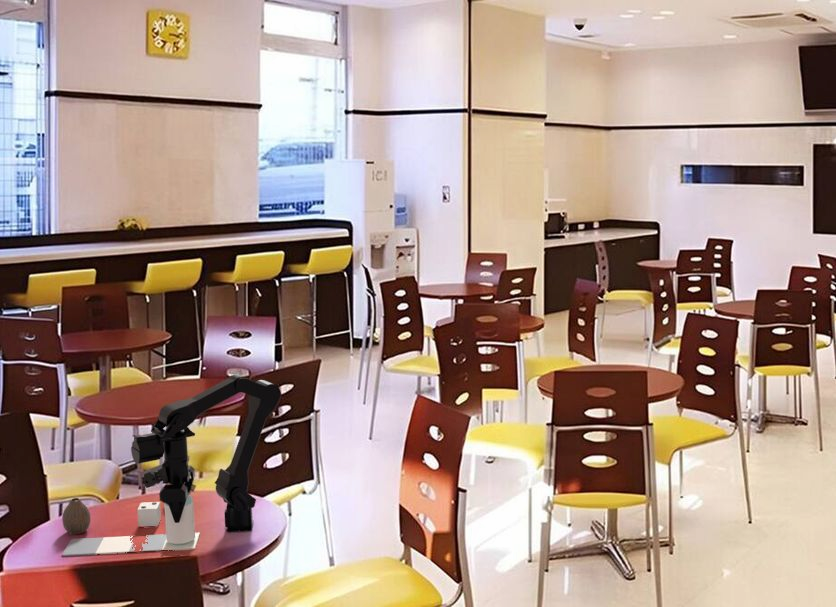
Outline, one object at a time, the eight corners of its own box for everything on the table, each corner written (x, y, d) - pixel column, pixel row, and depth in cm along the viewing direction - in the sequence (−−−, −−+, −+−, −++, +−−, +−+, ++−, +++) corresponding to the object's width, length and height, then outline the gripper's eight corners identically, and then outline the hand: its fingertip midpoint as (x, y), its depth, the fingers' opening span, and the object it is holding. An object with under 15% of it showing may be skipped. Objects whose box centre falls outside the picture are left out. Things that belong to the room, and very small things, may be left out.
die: (161, 519, 275) (160, 501, 274) (158, 526, 270) (157, 507, 269) (142, 520, 274) (140, 502, 273) (138, 527, 269) (137, 508, 269)
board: (199, 533, 264) (199, 532, 264) (194, 549, 255) (194, 547, 254) (71, 540, 262) (71, 539, 262) (61, 556, 252) (61, 554, 252)
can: (170, 548, 254) (167, 501, 253) (164, 538, 261) (161, 493, 259) (198, 543, 257) (195, 496, 255) (191, 533, 264) (189, 488, 262)
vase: (83, 524, 272) (81, 492, 271) (96, 531, 268) (93, 499, 266) (58, 532, 268) (56, 499, 266) (71, 539, 263) (68, 506, 261)
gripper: (149, 445, 264) (153, 504, 267) (135, 469, 246) (140, 531, 248) (193, 443, 265) (196, 502, 267) (183, 467, 247) (187, 529, 249)
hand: (179, 515), depth 258 cm, fingers open, 9 cm apart
